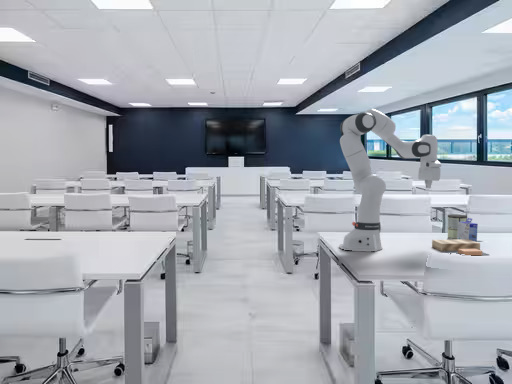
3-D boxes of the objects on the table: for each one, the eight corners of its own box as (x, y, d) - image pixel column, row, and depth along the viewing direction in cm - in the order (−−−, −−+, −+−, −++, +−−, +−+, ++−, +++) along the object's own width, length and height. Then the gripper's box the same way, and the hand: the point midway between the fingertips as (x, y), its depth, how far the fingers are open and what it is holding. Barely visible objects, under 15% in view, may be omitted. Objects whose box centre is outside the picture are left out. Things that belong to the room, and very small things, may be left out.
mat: (453, 255, 205) (453, 255, 205) (443, 251, 215) (443, 250, 215) (489, 255, 206) (489, 254, 206) (477, 250, 216) (478, 250, 216)
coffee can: (450, 236, 258) (451, 213, 257) (468, 238, 251) (469, 215, 250) (444, 238, 250) (445, 215, 250) (463, 240, 243) (463, 216, 242)
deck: (441, 251, 215) (441, 243, 215) (432, 247, 226) (432, 239, 226) (479, 250, 216) (480, 243, 215) (468, 246, 227) (468, 239, 226)
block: (457, 248, 210) (457, 252, 210) (464, 251, 204) (464, 255, 204) (475, 248, 210) (475, 252, 210) (482, 251, 204) (482, 255, 204)
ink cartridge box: (477, 245, 229) (478, 219, 228) (468, 246, 228) (469, 219, 227) (465, 242, 239) (466, 217, 238) (456, 242, 238) (457, 217, 237)
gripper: (415, 163, 246) (415, 187, 247) (431, 163, 226) (430, 189, 227) (426, 163, 246) (425, 187, 247) (442, 163, 226) (442, 189, 227)
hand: (428, 188), depth 237 cm, fingers closed
